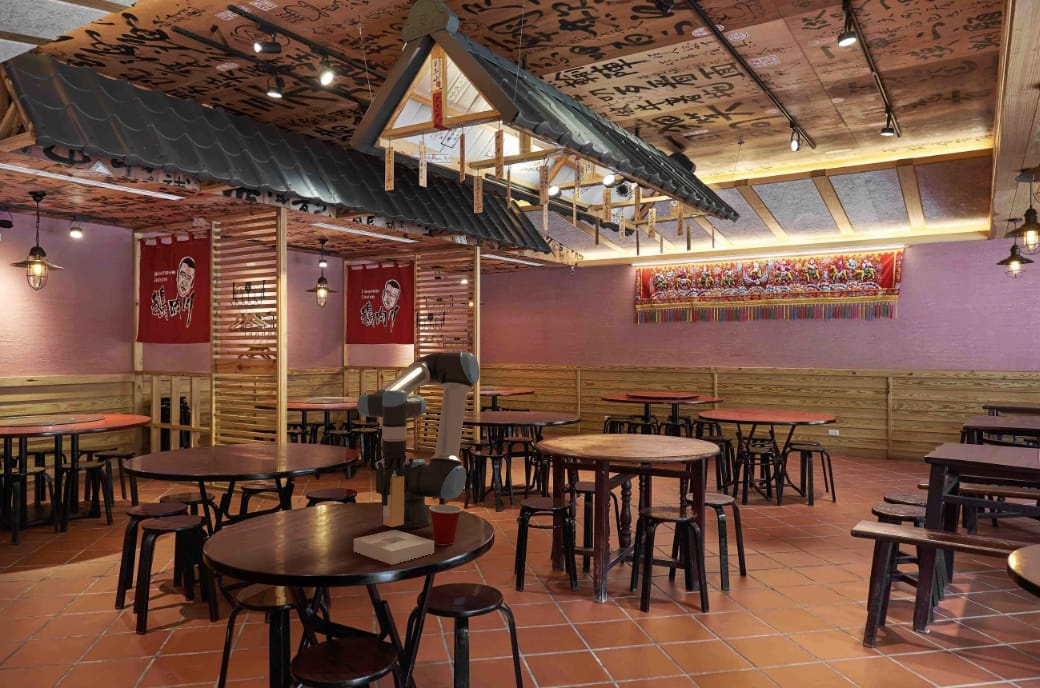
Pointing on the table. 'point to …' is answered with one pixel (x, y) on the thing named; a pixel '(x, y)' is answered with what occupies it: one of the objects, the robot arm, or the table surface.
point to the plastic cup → (445, 522)
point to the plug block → (396, 502)
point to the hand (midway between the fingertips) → (393, 514)
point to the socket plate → (393, 546)
